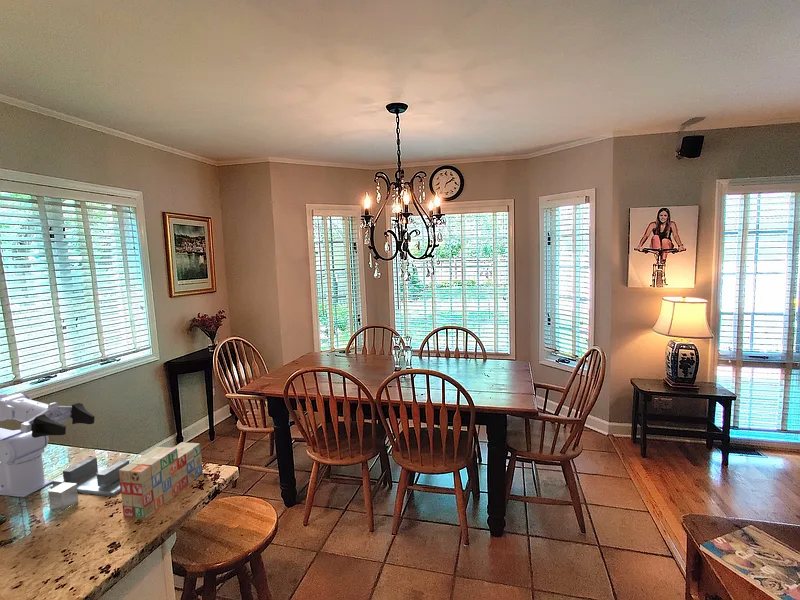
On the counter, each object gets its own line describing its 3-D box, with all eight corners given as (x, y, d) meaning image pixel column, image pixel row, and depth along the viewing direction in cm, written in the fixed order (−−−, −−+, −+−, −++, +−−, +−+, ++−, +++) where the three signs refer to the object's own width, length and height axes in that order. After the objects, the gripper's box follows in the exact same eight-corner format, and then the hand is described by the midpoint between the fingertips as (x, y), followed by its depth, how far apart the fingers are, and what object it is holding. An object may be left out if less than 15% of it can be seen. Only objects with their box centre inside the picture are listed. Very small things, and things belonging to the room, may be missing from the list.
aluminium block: (50, 509, 104) (48, 490, 103) (65, 500, 108) (63, 482, 107) (63, 511, 103) (61, 492, 102) (78, 501, 107) (76, 483, 106)
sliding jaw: (97, 486, 111) (96, 474, 111) (122, 471, 119) (121, 459, 119) (105, 487, 111) (104, 474, 111) (130, 471, 119) (129, 460, 118)
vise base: (50, 489, 113) (48, 472, 112) (87, 469, 123) (86, 453, 123) (113, 496, 109) (111, 479, 108) (145, 474, 120) (144, 458, 119)
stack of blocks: (184, 471, 121) (181, 431, 120) (203, 473, 120) (200, 433, 119) (122, 517, 100) (118, 469, 99) (144, 519, 99) (140, 471, 98)
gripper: (7, 408, 102) (51, 420, 99) (66, 391, 116) (105, 401, 114) (6, 435, 103) (49, 448, 100) (64, 415, 117) (103, 426, 114)
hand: (79, 425), depth 107 cm, fingers open, 7 cm apart
